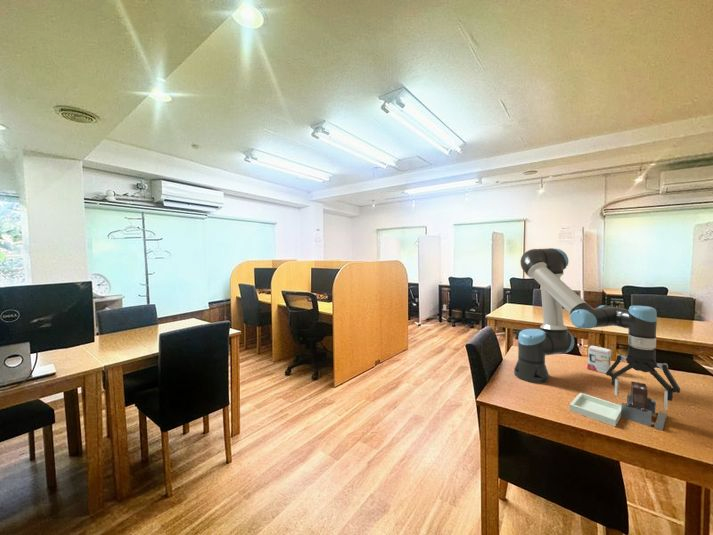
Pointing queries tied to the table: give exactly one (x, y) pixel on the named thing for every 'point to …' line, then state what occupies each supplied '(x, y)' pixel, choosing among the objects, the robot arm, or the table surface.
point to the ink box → (599, 359)
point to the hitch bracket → (643, 413)
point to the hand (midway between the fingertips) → (640, 400)
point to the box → (639, 395)
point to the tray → (596, 409)
